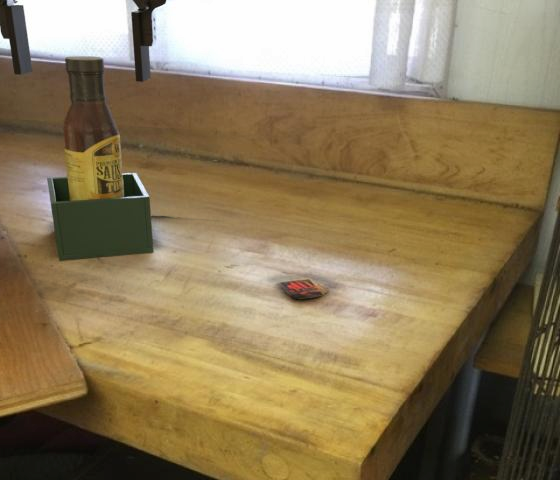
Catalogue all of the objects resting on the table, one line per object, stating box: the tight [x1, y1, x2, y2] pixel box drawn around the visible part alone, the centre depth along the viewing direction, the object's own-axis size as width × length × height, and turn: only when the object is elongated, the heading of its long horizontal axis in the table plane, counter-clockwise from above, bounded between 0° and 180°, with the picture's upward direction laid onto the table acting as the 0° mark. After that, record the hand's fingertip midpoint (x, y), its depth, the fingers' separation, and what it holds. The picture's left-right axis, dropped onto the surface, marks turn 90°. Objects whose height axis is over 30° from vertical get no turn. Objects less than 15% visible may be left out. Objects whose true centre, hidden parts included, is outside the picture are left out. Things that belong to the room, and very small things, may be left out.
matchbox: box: [275, 277, 329, 301], centre depth 73 cm, size 5×5×1 cm
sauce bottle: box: [62, 55, 124, 201], centre depth 79 cm, size 6×6×20 cm
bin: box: [46, 172, 154, 261], centre depth 83 cm, size 11×11×7 cm
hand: (82, 76), depth 75 cm, fingers open, 13 cm apart
